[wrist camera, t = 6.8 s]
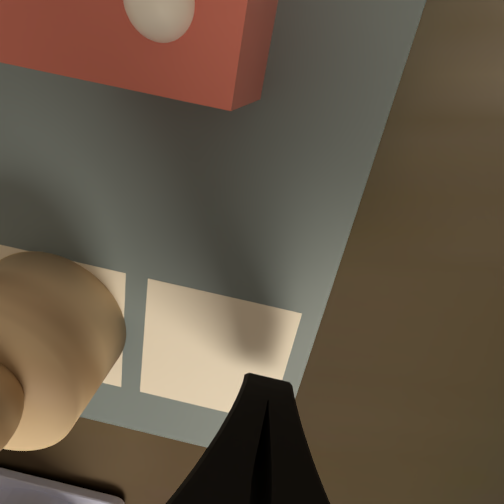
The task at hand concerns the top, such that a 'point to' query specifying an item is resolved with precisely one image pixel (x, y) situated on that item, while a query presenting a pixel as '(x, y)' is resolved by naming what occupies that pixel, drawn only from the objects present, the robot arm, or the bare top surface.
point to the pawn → (52, 346)
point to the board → (207, 206)
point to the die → (146, 45)
